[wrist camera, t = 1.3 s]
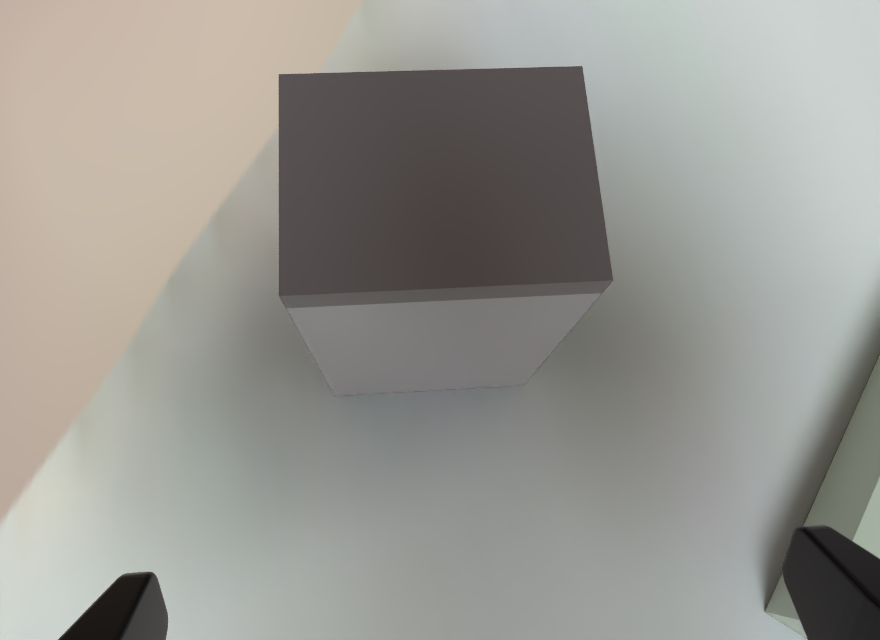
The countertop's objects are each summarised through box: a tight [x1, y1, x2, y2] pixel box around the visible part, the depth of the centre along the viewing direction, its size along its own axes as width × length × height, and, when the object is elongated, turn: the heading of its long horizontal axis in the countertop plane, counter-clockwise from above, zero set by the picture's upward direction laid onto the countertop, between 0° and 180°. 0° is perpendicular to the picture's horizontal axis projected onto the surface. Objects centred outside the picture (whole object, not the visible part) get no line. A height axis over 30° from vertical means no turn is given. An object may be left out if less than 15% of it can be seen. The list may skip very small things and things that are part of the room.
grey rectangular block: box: [279, 66, 613, 396], centre depth 20 cm, size 6×7×11 cm
